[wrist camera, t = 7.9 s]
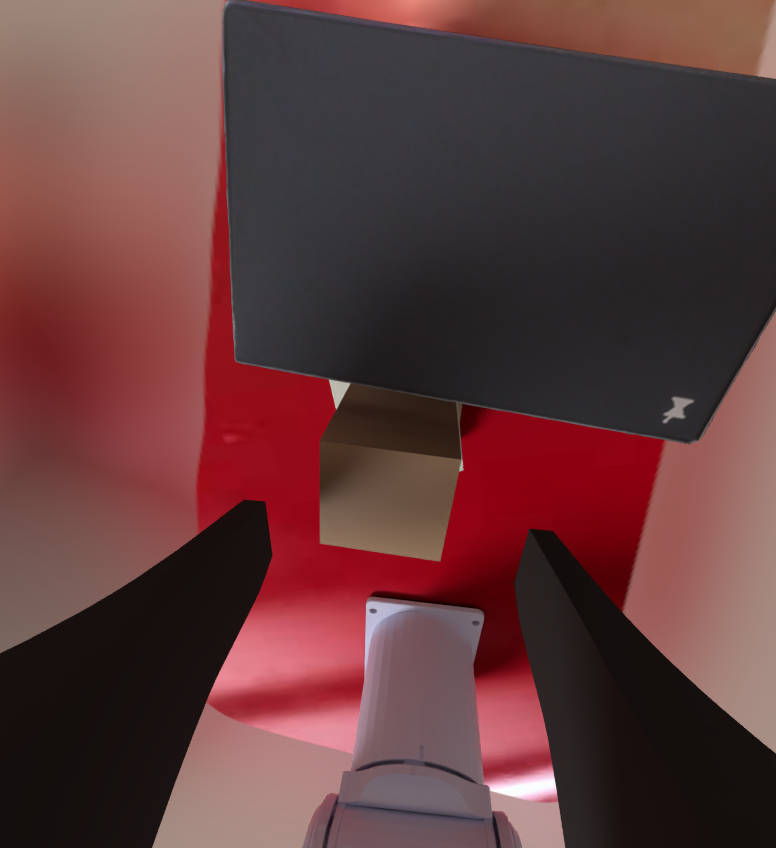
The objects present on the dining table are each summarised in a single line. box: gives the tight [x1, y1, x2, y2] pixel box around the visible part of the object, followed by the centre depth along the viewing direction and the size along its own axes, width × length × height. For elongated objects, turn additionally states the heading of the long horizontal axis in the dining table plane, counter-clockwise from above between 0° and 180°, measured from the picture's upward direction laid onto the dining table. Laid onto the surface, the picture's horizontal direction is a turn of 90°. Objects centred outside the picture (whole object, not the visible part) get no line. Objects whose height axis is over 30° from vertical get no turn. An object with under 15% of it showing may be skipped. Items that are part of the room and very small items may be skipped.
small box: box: [223, 0, 776, 444], centre depth 12 cm, size 11×6×10 cm, turn 82°
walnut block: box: [320, 383, 461, 561], centre depth 14 cm, size 4×4×5 cm
